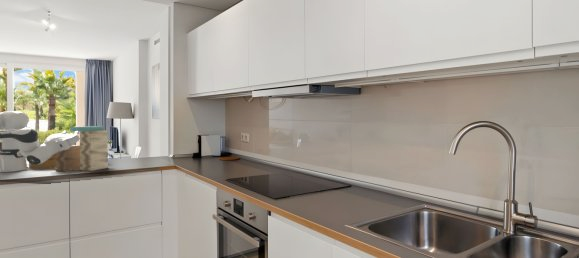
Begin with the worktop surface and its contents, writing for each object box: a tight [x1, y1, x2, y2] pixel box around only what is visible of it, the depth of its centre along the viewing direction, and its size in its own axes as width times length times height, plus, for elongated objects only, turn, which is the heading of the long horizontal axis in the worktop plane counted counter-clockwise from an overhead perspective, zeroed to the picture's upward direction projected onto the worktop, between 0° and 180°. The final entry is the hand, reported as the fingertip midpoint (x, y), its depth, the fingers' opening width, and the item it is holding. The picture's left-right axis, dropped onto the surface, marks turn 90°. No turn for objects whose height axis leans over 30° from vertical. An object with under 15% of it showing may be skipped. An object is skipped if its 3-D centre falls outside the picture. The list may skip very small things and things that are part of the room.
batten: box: [69, 125, 105, 133], centre depth 225 cm, size 3×24×3 cm, turn 166°
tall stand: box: [79, 129, 109, 171], centre depth 230 cm, size 9×14×26 cm, turn 166°
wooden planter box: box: [28, 154, 56, 170], centre depth 242 cm, size 25×25×11 cm
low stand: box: [55, 144, 80, 172], centre depth 227 cm, size 8×14×16 cm, turn 166°
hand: (72, 132), depth 213 cm, fingers open, 8 cm apart
